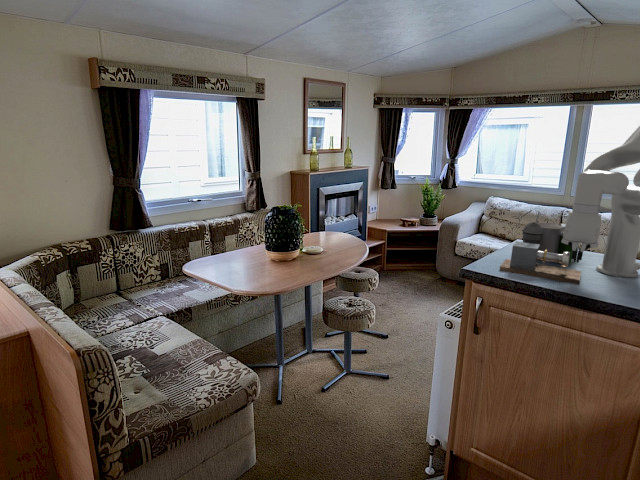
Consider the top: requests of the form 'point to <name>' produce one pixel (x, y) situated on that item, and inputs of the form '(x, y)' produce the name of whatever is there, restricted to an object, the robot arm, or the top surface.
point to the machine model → (536, 265)
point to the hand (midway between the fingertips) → (576, 261)
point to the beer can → (564, 248)
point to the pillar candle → (550, 237)
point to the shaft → (554, 257)
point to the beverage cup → (532, 232)
